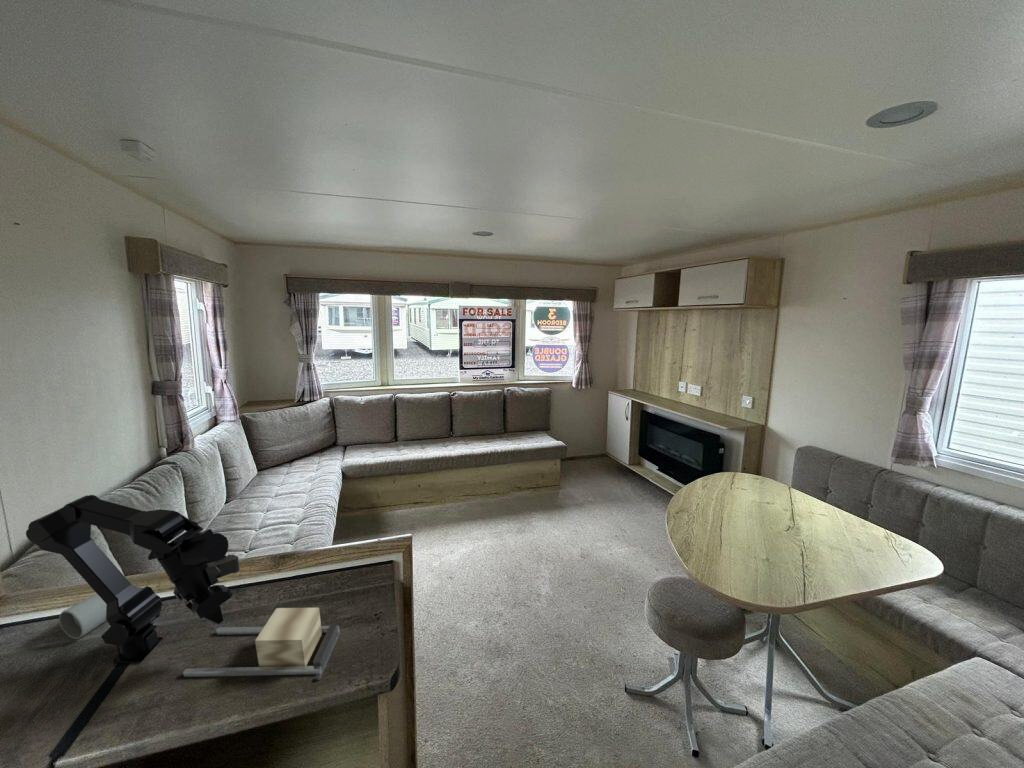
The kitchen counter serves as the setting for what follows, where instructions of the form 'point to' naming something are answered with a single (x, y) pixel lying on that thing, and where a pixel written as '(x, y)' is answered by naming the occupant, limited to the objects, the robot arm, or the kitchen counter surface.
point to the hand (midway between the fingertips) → (220, 621)
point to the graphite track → (317, 669)
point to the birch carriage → (289, 637)
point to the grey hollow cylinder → (83, 617)
